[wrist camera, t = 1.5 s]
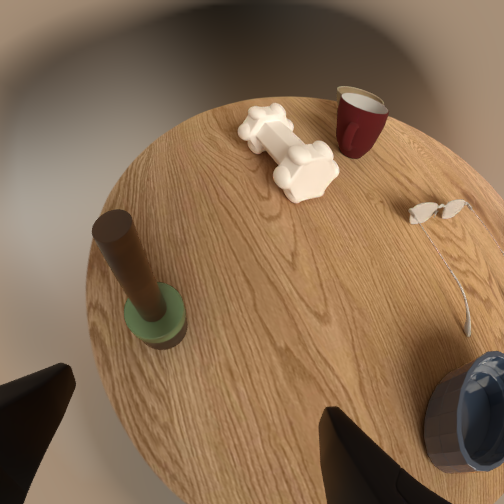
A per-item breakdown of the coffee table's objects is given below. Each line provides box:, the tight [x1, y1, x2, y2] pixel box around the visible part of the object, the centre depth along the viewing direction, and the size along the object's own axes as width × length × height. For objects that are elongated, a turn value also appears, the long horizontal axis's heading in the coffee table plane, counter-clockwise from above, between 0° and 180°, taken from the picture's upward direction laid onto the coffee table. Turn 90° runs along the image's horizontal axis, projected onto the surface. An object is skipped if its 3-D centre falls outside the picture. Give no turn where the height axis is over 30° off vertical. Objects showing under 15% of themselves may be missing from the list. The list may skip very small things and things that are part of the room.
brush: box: [92, 209, 187, 350], centre depth 19 cm, size 5×5×14 cm
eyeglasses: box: [408, 199, 504, 337], centre depth 29 cm, size 15×18×4 cm
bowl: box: [424, 351, 504, 474], centre depth 16 cm, size 12×12×6 cm
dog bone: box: [238, 103, 339, 203], centre depth 36 cm, size 15×9×8 cm, turn 23°
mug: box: [336, 93, 389, 159], centre depth 40 cm, size 10×8×10 cm
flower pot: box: [337, 86, 384, 105], centre depth 49 cm, size 10×10×7 cm
